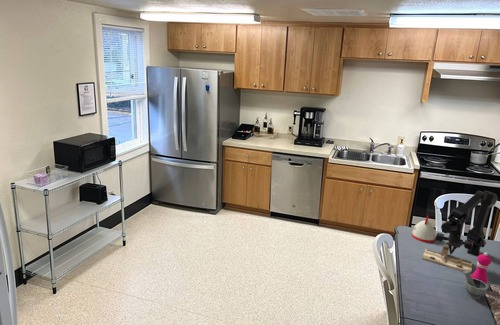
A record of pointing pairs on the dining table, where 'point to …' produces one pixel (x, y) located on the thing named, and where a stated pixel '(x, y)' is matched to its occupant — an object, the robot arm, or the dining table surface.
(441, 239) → the robot arm
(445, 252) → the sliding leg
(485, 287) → the mortar and pestle
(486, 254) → the pepper mill
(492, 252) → the dining table surface
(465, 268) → the gauge board
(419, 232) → the white dome
